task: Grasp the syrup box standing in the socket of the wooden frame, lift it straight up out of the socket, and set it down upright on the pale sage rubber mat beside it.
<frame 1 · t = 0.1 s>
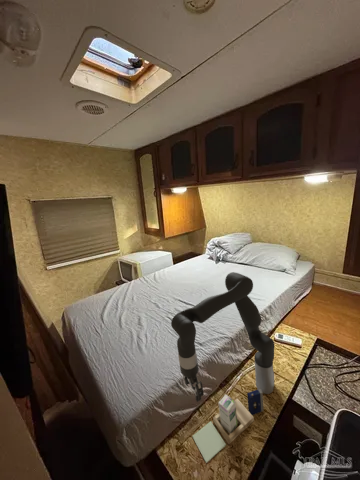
hand: (193, 391, 83), 29 cm above the worktop, fingers open, 8 cm apart
sage mat: (208, 440, 89), on the worktop
wooden frame: (229, 424, 94), on the worktop
cassette player: (256, 411, 99), on the worktop
syrup box: (229, 425, 94), resting in wooden frame
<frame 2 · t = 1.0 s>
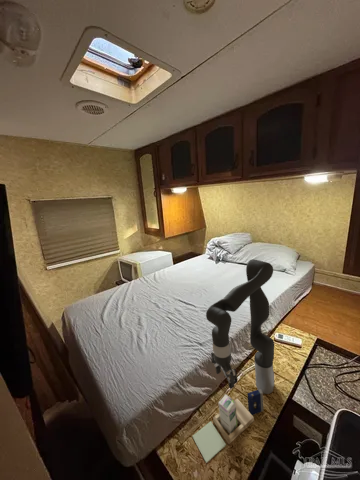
hand: (224, 379, 88), 28 cm above the worktop, fingers open, 8 cm apart
nothing on the worktop moved.
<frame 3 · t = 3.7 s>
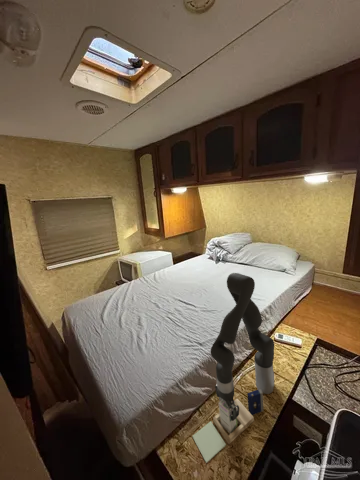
hand: (227, 412, 92), 8 cm above the worktop, fingers closed on syrup box, 6 cm apart
syrup box: (229, 425, 94), resting in wooden frame, touching gripper
everything else where it was.
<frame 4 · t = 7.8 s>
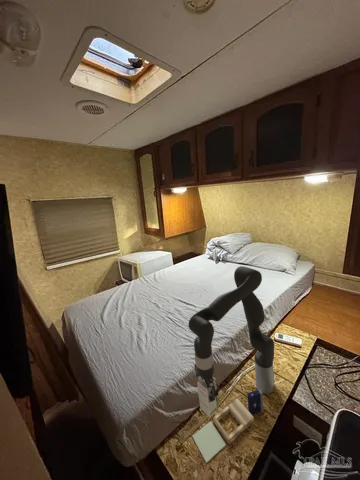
hand: (207, 393, 84), 27 cm above the worktop, fingers closed on syrup box, 6 cm apart
syrup box: (209, 408, 86), point 18 cm above the worktop, touching gripper
everything else where it was.
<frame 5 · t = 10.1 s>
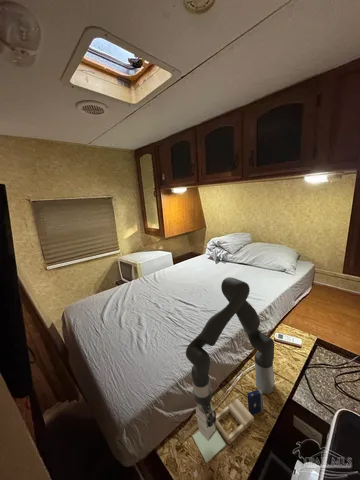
hand: (205, 417, 86), 14 cm above the worktop, fingers closed on syrup box, 6 cm apart
syrup box: (207, 431, 88), point 6 cm above the worktop, touching gripper
everything else where it was.
when the fingers open (10 cm above the worktop, at t = 12.0 s): syrup box drops 1 cm, resting on sage mat.
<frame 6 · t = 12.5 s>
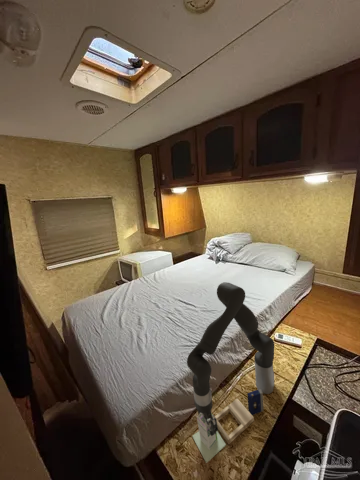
hand: (206, 424, 87), 10 cm above the worktop, fingers open, 8 cm apart
syrup box: (208, 439, 90), resting on sage mat
everything else where it was.
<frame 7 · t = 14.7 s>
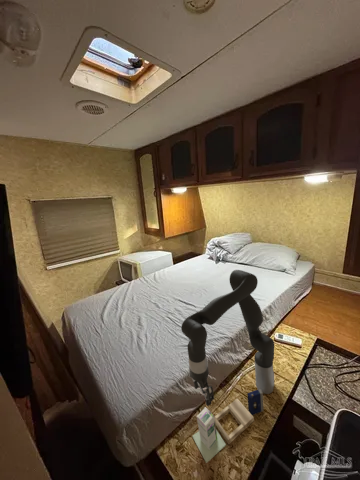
hand: (202, 395, 83), 27 cm above the worktop, fingers open, 8 cm apart
nothing on the worktop moved.
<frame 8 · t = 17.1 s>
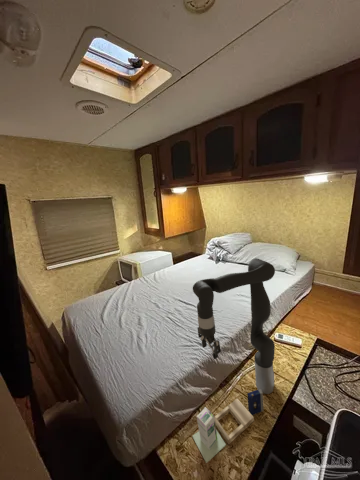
hand: (209, 352, 93), 36 cm above the worktop, fingers open, 8 cm apart
nothing on the worktop moved.
at the end: syrup box inside the target area on the sage mat (0.2 cm from its centre), point 0.3 cm above the sage mat's base; syrup box tilted 0°; the gripper is holding nothing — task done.
